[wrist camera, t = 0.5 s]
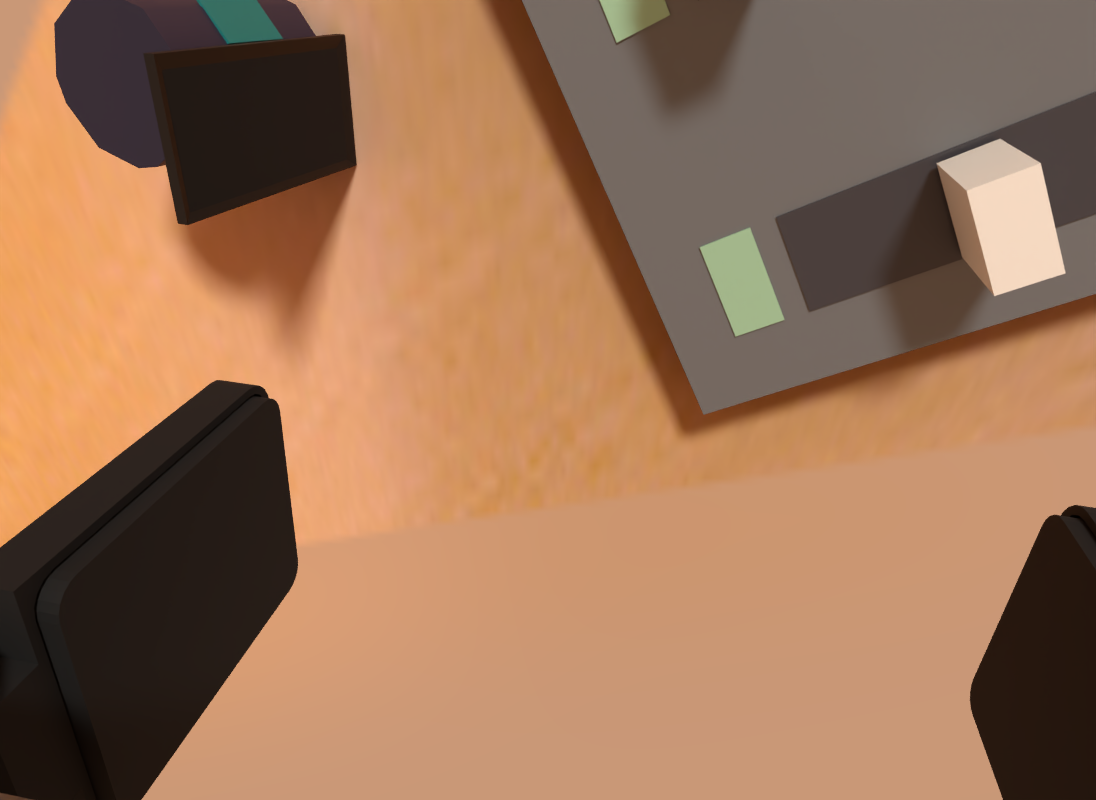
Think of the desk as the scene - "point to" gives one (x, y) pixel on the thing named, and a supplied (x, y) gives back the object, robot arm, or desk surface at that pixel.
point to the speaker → (209, 94)
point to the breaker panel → (822, 166)
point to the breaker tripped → (1002, 216)
